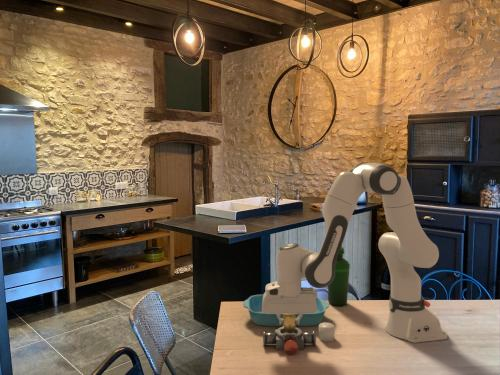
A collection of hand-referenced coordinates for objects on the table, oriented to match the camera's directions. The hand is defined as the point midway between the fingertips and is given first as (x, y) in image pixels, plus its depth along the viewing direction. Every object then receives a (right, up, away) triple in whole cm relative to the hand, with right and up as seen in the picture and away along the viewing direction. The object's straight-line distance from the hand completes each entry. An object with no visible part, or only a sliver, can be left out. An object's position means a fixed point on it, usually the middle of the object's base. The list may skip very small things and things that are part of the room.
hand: (289, 323), depth 148 cm
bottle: (+27, -4, +41) cm, 49 cm away
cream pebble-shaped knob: (+15, -8, +6) cm, 18 cm away
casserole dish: (+1, -6, +25) cm, 26 cm away
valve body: (0, -8, -1) cm, 8 cm away
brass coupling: (0, -2, 0) cm, 2 cm away
